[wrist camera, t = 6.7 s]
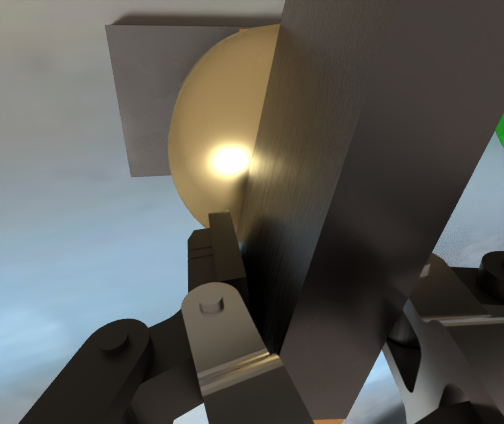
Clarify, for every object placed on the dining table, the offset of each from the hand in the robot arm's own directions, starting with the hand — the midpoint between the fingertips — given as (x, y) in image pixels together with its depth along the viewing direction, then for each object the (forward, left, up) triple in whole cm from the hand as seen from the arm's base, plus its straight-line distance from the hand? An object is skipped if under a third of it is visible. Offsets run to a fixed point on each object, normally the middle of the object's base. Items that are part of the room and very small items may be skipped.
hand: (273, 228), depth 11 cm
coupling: (0, -2, -4) cm, 4 cm away
